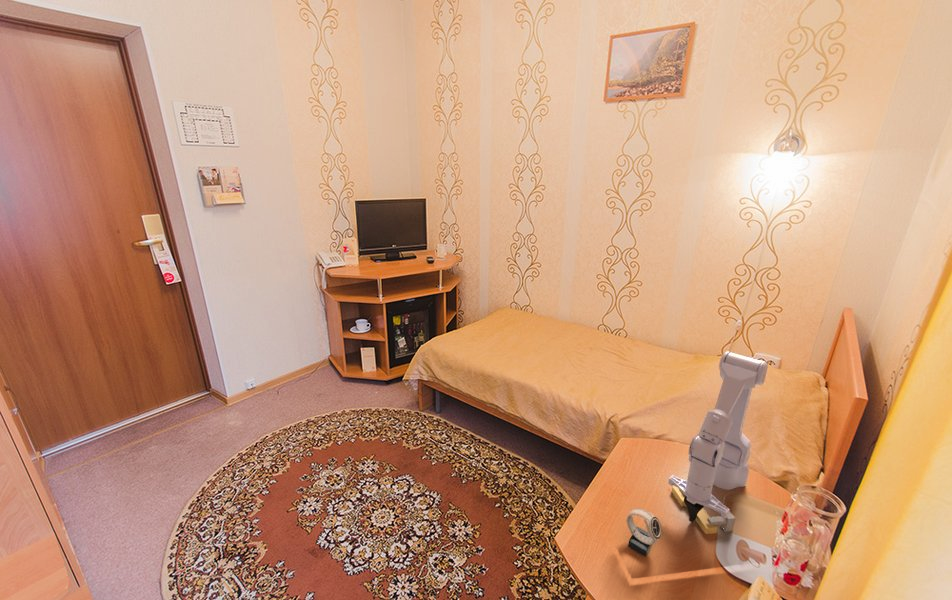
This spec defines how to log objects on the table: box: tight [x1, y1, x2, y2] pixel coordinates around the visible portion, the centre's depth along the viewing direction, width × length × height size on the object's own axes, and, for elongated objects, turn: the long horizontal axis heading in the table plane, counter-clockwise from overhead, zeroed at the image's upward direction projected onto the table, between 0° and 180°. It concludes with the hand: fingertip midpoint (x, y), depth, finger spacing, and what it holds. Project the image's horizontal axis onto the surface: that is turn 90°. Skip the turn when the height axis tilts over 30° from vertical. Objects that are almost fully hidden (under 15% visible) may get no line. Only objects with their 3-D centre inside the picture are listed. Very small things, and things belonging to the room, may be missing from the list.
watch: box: [626, 507, 662, 557], centre depth 97 cm, size 6×8×11 cm
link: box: [671, 485, 718, 535], centre depth 107 cm, size 14×5×2 cm, turn 3°
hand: (692, 519), depth 104 cm, fingers closed, pressing on link
